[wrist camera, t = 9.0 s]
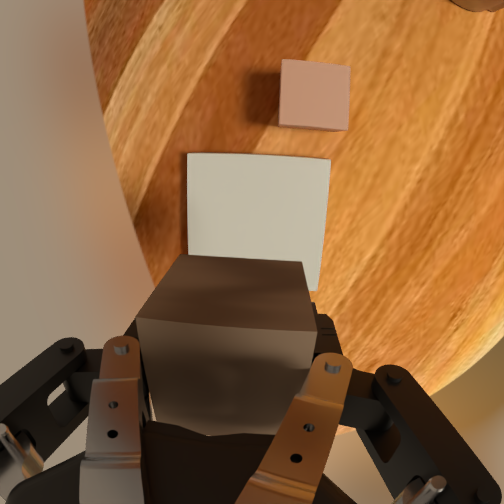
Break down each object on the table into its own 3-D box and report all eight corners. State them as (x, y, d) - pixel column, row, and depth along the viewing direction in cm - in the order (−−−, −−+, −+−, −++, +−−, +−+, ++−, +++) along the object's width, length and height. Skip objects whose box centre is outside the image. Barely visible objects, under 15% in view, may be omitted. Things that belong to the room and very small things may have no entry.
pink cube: (337, 78, 24) (350, 66, 19) (334, 131, 26) (347, 130, 21) (280, 72, 24) (282, 59, 20) (277, 126, 26) (279, 124, 21)
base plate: (327, 158, 27) (330, 160, 25) (315, 283, 31) (317, 290, 29) (191, 152, 27) (187, 153, 26) (193, 276, 31) (189, 283, 30)
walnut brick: (302, 261, 13) (317, 331, 8) (289, 358, 15) (294, 441, 10) (180, 254, 13) (135, 317, 8) (186, 350, 15) (158, 427, 10)
